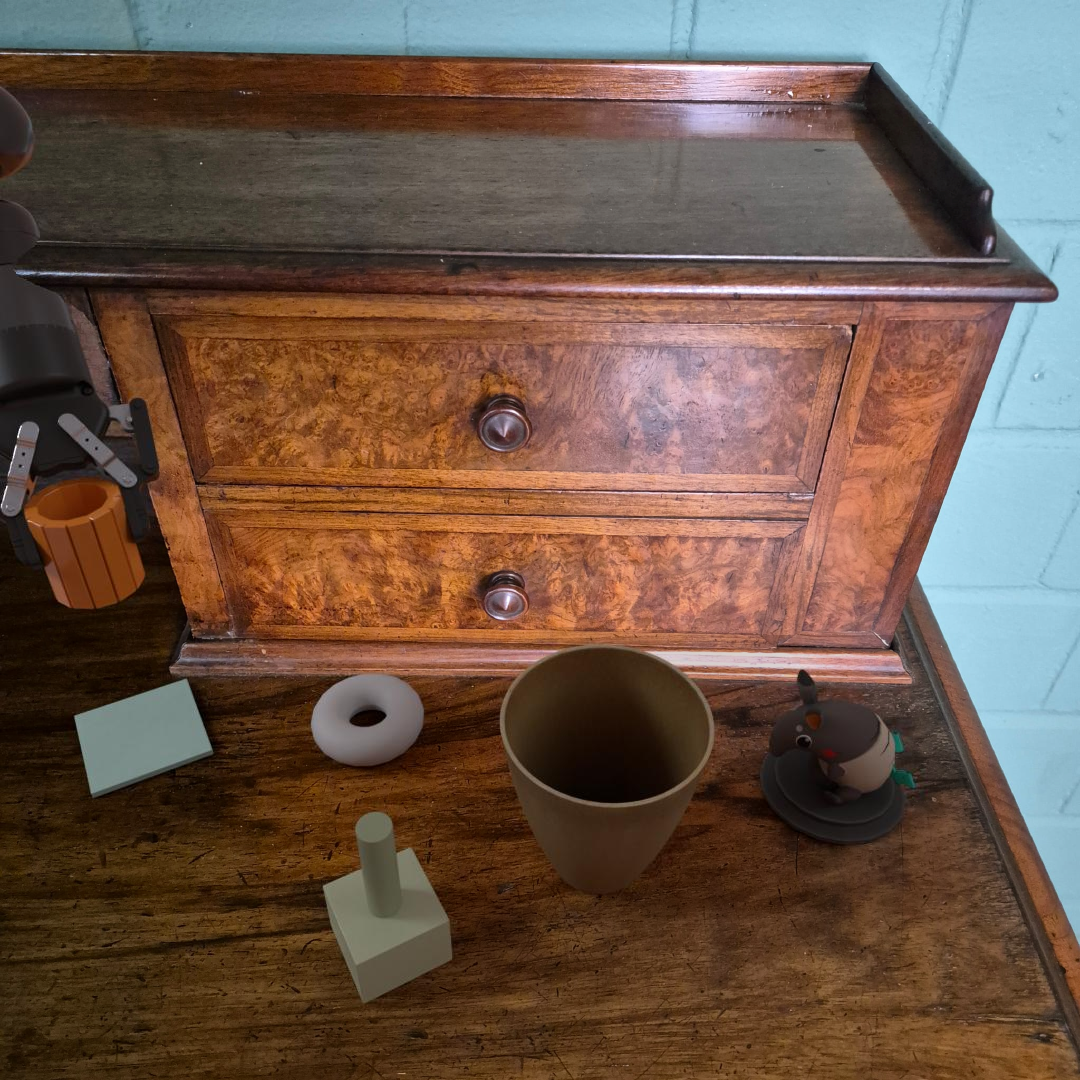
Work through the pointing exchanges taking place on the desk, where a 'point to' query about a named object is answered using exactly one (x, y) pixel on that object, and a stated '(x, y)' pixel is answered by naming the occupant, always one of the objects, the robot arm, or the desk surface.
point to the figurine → (834, 770)
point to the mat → (141, 737)
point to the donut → (375, 740)
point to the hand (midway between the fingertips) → (90, 553)
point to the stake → (386, 913)
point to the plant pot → (604, 758)
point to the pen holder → (85, 542)
